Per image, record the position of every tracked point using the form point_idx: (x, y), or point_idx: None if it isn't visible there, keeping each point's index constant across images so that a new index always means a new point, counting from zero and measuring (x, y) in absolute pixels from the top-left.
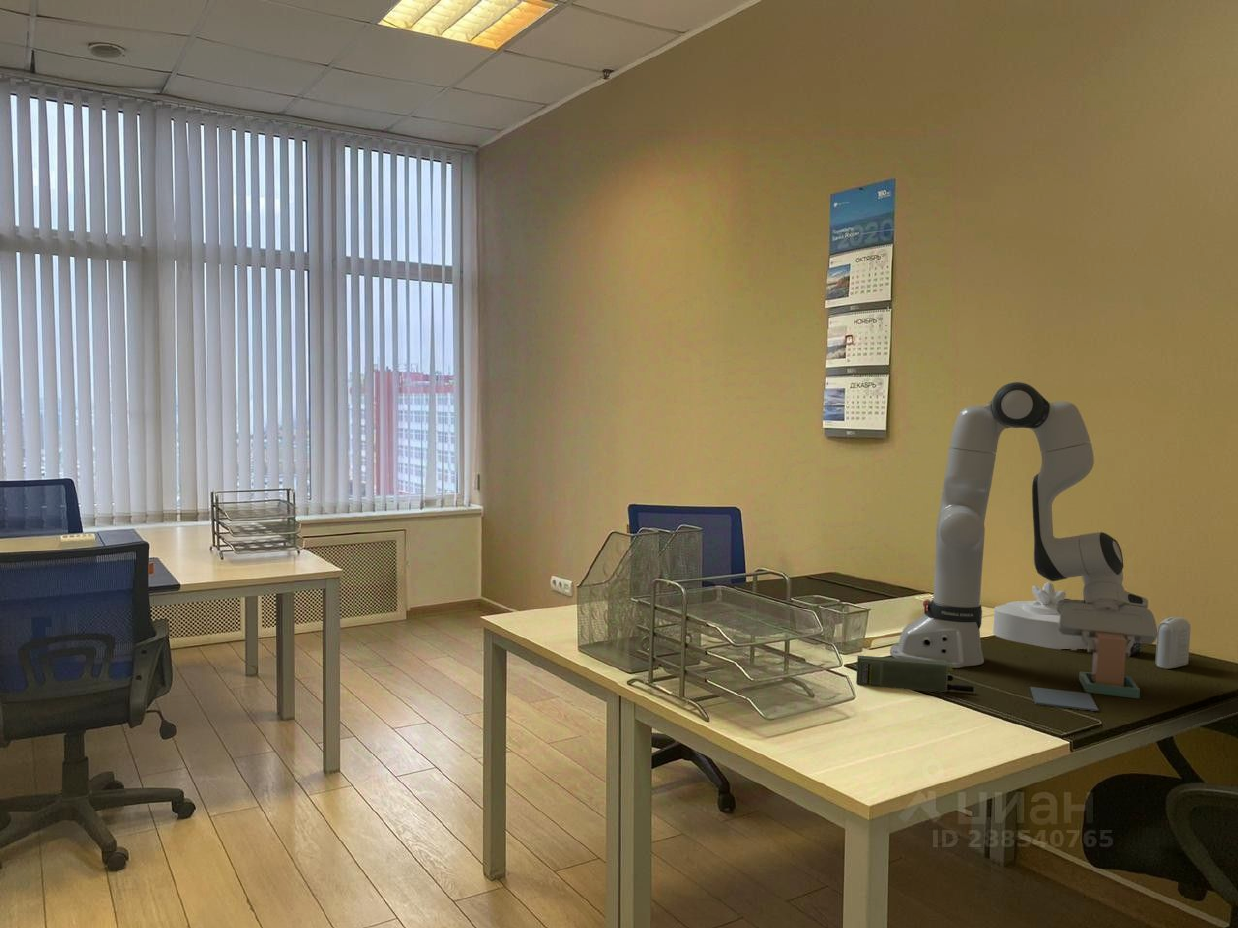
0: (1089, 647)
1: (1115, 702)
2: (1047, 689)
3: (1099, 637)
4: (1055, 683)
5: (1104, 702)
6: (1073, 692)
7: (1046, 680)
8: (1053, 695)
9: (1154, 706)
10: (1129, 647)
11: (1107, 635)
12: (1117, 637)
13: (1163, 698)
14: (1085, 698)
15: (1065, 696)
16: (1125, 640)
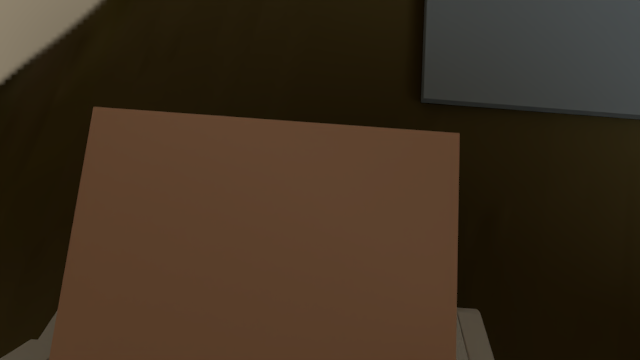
0: (473, 314)
1: (317, 34)
2: (626, 99)
3: (449, 136)
4: (564, 290)
5: (370, 16)
6: (502, 90)
7: (608, 341)
8: (604, 3)
9: (145, 31)
10: (50, 326)
11: (299, 317)
12: (178, 232)
13: (39, 193)
14: (459, 5)
15: (549, 8)
16: (112, 112)
